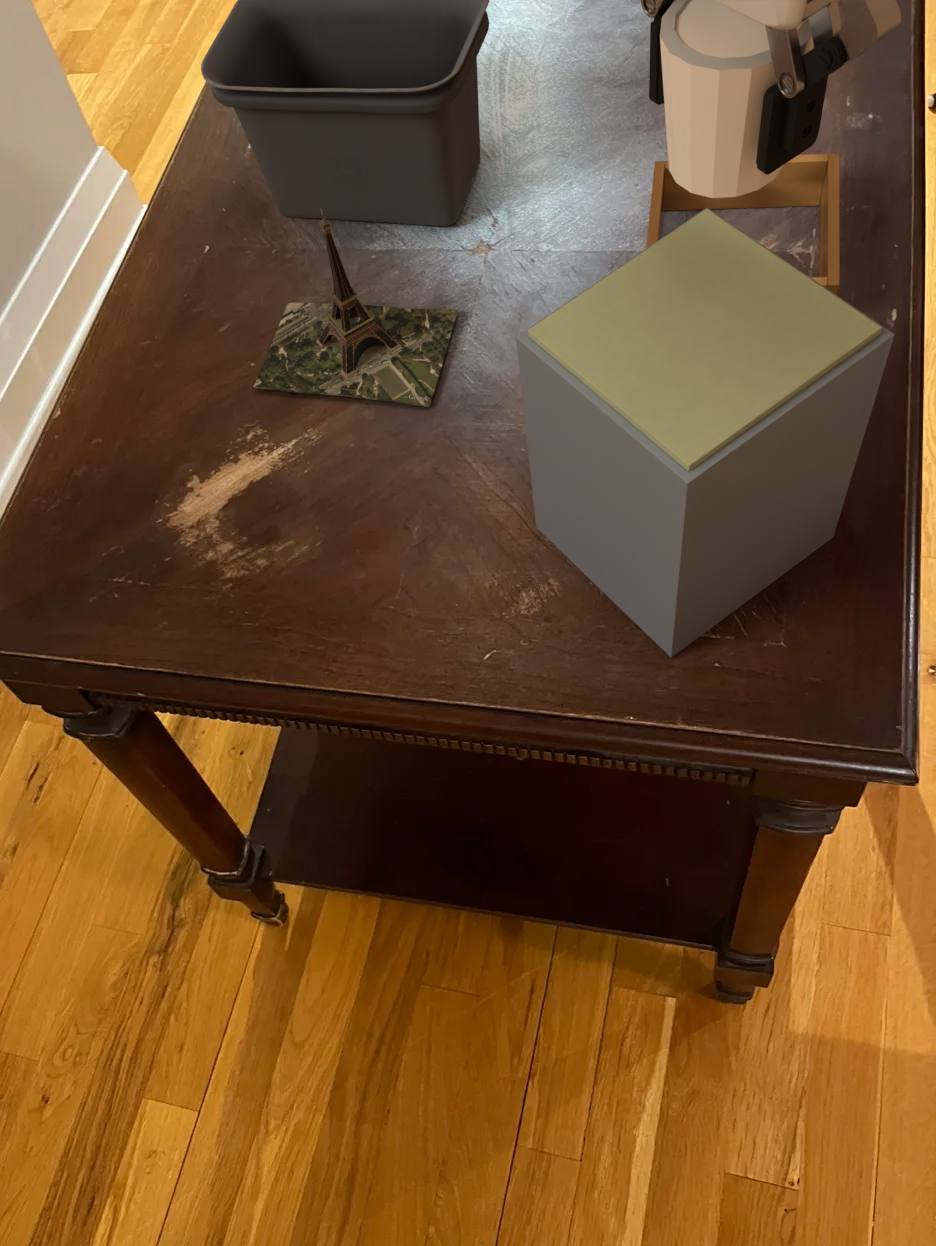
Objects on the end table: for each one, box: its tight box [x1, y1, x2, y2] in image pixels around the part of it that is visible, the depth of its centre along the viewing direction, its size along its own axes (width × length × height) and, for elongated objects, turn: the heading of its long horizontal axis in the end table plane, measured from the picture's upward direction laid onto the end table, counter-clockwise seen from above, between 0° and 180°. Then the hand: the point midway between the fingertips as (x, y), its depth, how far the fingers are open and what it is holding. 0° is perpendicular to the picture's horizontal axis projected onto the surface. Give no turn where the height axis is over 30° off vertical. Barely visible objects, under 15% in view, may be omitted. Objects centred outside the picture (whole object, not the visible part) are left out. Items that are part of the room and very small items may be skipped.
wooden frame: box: [645, 152, 841, 296], centre depth 83 cm, size 14×14×4 cm
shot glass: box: [660, 0, 814, 198], centre depth 51 cm, size 7×7×7 cm
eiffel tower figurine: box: [252, 208, 459, 408], centre depth 82 cm, size 15×10×13 cm
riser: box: [515, 208, 895, 658], centre depth 67 cm, size 14×14×18 cm
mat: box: [528, 209, 882, 471], centre depth 59 cm, size 13×13×1 cm
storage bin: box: [200, 0, 490, 227], centre depth 90 cm, size 21×16×14 cm
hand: (730, 119), depth 52 cm, fingers closed on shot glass, 6 cm apart
